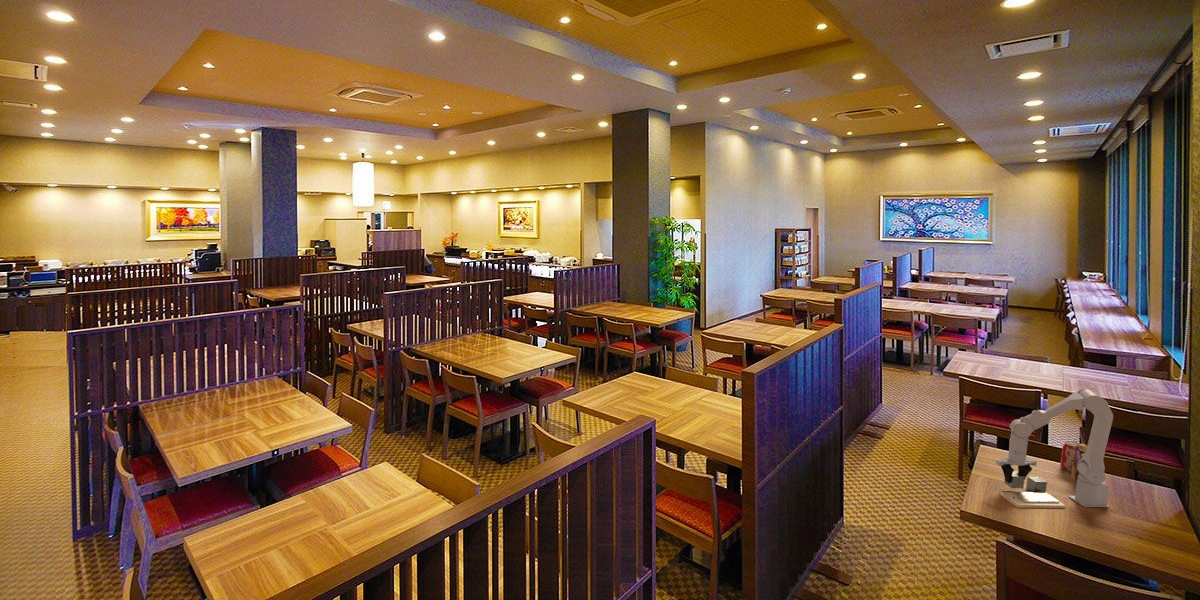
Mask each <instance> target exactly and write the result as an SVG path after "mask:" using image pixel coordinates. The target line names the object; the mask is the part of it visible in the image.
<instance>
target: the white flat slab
mask: <svg viewBox="0 0 1200 600" xmlns="http://www.w3.org/2000/svg"><path fill="white" fill-rule="evenodd" d="M1011 492H1012V494H1014V495H1015V496H1016V497H1018V498H1019V499H1021V500H1022V501H1023V502H1025V503H1059V502H1060V500H1058V498H1057V499H1056V498H1055V497H1053V496H1052V495H1051V494H1049V493H1047V491H1046V492H1031V491H1011Z"/></svg>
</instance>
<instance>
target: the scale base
mask: <svg viewBox="0 0 1200 600" xmlns="http://www.w3.org/2000/svg"><path fill="white" fill-rule="evenodd" d="M1012 492H1013V491H1011V492H1010V491H1009V492H1008V491H1007V492H1006V491H1005V492H1004V491H1001V492H999V495H1000V496H1001V497H1002V498H1004V499H1005V500H1007V501H1008V502H1009V503H1010V504H1012V505H1013V506H1014V507H1016V508H1024V509H1025V508H1032V509H1033V508H1035V509H1037V508H1038V509H1040V508H1041V509H1044V508H1045V509H1065V508H1066V505H1065V504H1064V503H1062V502H1061V501H1059V503H1025V502H1023V501H1022V500H1021V499H1019V498H1018V497H1016V496H1015V495H1014V494H1012Z"/></svg>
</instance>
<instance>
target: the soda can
mask: <svg viewBox="0 0 1200 600" xmlns="http://www.w3.org/2000/svg"><path fill="white" fill-rule="evenodd" d="M1077 444H1080V443H1079V442H1076V441H1069V440H1068V441H1066V440H1065V442H1064V444H1063V445H1062V449H1061V457H1060V468H1062V470H1064V472H1065V471H1066V472H1069V473H1072V468H1073V461H1074V454H1075V447H1076V445H1077Z"/></svg>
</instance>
